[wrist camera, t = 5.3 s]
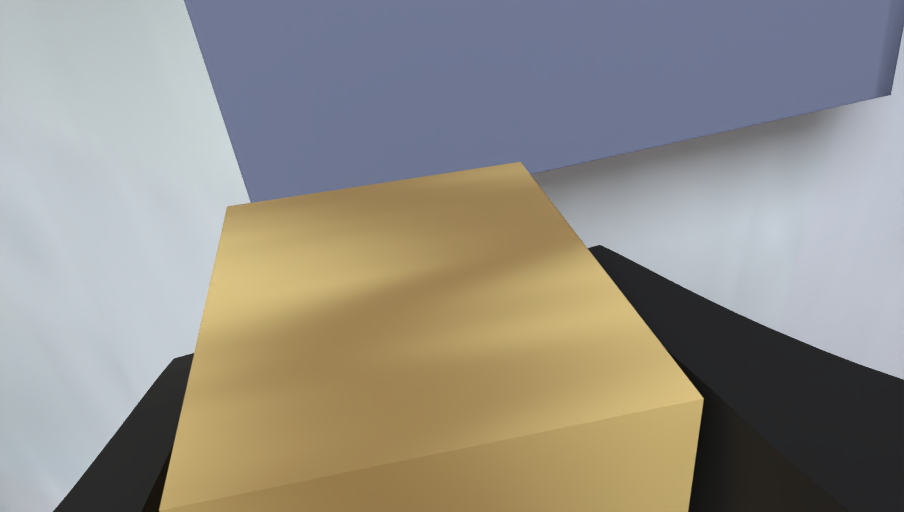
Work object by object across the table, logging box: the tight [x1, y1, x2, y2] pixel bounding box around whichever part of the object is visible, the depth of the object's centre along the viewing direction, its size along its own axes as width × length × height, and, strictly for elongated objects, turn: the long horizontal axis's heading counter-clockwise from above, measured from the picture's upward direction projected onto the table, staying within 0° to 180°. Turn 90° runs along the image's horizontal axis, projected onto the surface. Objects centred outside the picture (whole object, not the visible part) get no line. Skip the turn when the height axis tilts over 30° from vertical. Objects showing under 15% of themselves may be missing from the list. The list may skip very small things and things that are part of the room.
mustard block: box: [159, 162, 704, 512], centre depth 8 cm, size 4×4×5 cm
